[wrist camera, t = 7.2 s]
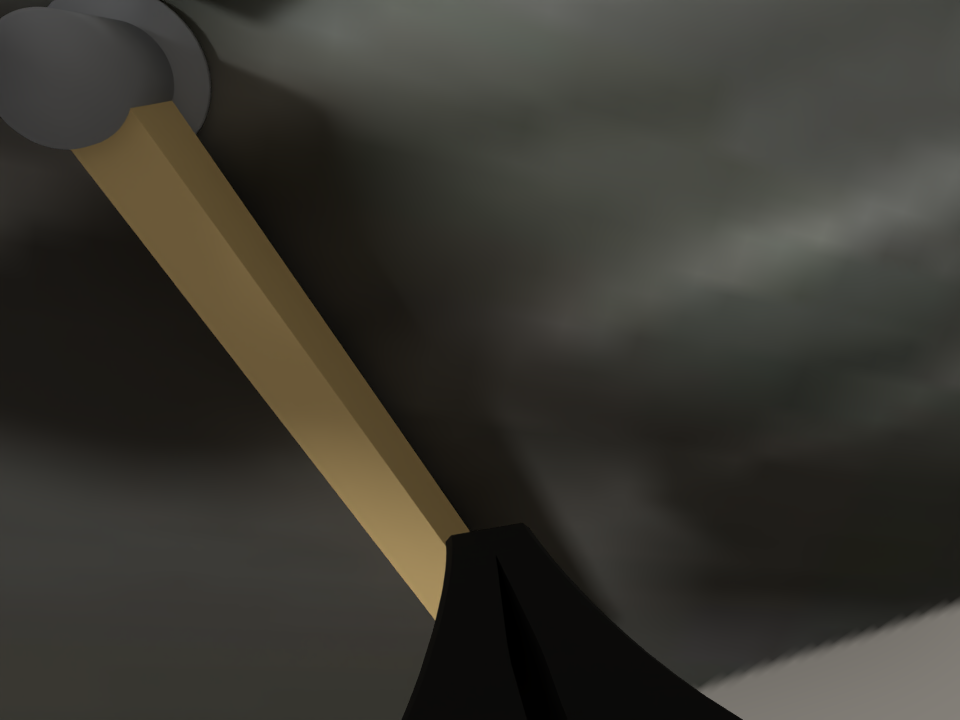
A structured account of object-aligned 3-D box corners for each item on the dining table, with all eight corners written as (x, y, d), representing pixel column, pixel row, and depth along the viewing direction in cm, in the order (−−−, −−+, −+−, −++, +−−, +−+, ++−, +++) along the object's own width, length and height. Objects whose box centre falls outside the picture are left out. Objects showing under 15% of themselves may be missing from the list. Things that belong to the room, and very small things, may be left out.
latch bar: (36, 54, 13) (-53, 51, 10) (127, -3, 13) (61, -21, 10) (473, 635, 20) (490, 727, 17) (536, 602, 20) (563, 689, 17)
